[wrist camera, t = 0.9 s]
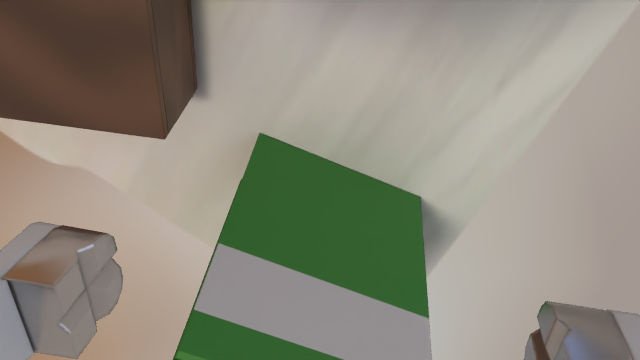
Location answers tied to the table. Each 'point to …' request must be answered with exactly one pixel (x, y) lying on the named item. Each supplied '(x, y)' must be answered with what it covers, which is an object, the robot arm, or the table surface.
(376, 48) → the table surface
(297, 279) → the hardback book
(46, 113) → the cabinet
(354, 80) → the table surface
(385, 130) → the table surface
